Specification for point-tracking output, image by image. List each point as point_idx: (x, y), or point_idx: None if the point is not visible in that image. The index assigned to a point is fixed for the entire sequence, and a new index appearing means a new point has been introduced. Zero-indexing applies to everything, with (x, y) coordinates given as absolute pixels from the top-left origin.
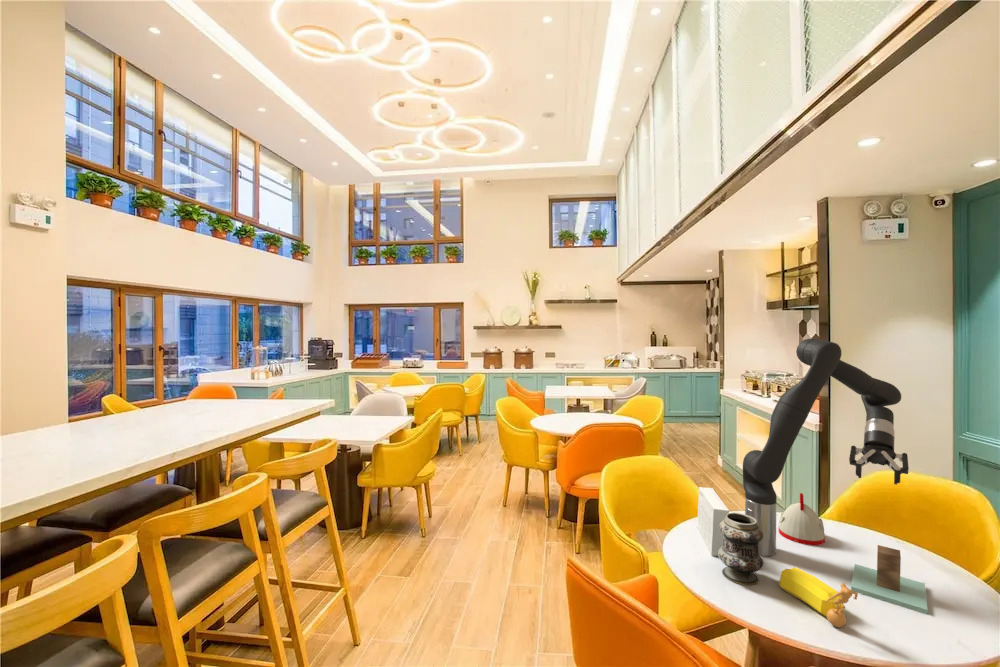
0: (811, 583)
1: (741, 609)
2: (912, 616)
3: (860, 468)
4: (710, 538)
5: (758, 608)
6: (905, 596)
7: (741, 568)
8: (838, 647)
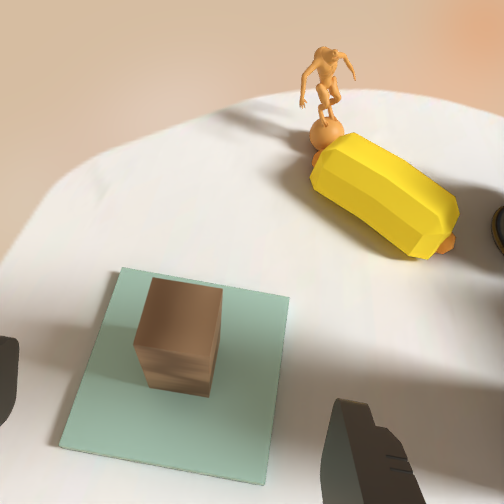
0: (388, 151)
1: (480, 124)
2: (164, 247)
3: (362, 455)
4: None
5: (456, 138)
6: None
7: None
8: None
